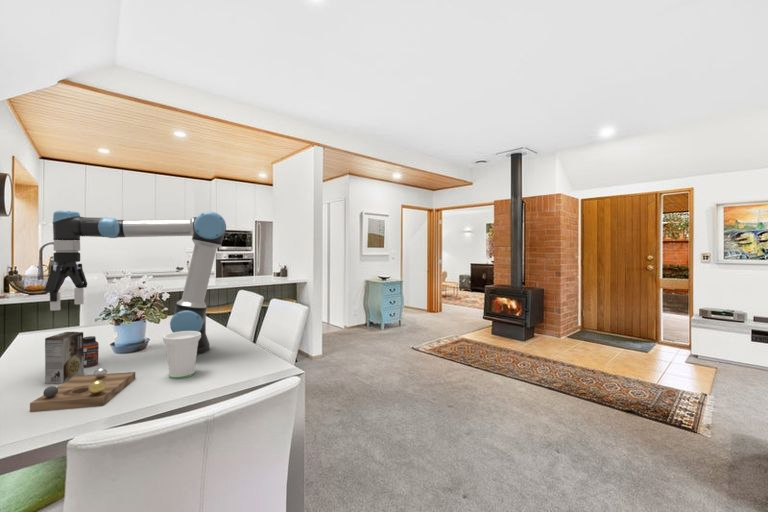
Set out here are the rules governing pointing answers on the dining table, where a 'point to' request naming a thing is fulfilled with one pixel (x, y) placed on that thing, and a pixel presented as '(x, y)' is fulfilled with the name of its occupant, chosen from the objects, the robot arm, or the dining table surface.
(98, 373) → the steel ball
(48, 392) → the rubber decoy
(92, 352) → the supplement bottle
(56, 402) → the wooden board
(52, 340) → the coffee box
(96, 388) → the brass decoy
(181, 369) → the cup
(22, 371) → the dining table surface
